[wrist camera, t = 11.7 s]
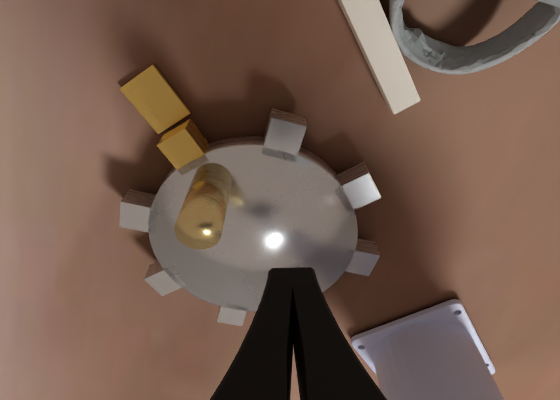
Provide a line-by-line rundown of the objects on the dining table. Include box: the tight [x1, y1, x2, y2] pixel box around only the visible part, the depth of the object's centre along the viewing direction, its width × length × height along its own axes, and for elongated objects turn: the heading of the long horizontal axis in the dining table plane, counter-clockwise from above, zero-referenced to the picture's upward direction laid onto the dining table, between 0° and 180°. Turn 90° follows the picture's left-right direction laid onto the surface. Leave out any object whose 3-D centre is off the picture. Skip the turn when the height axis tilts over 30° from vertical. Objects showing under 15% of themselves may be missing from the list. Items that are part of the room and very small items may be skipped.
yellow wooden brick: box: [120, 64, 191, 134], centre depth 19 cm, size 12×4×1 cm, turn 32°
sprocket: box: [120, 108, 381, 326], centre depth 18 cm, size 14×14×5 cm
